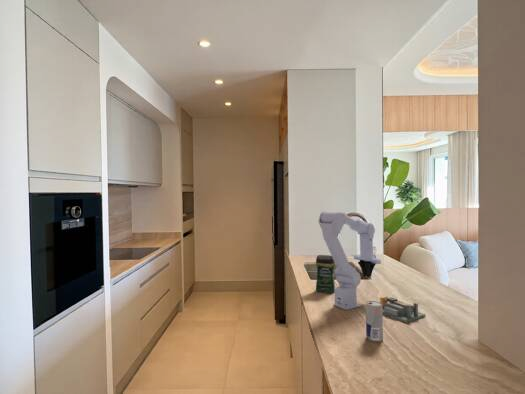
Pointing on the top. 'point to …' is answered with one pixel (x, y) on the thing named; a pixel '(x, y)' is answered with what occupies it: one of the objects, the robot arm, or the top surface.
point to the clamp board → (409, 315)
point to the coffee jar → (325, 274)
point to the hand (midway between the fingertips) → (367, 276)
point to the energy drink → (374, 321)
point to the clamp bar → (398, 302)
